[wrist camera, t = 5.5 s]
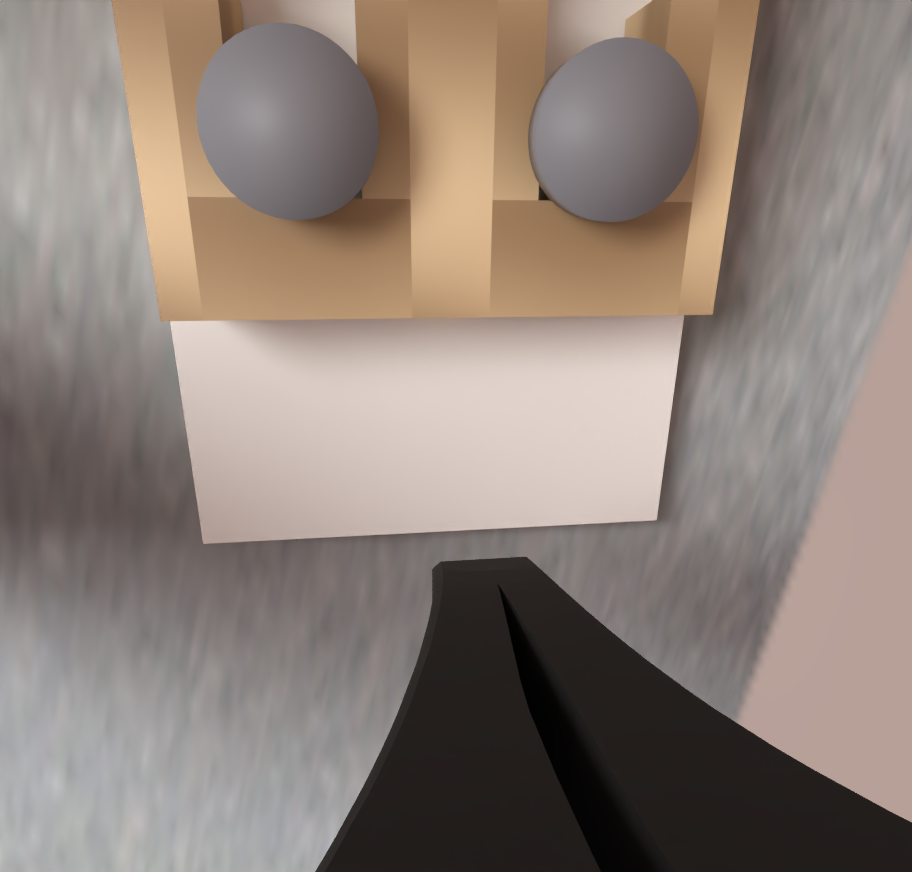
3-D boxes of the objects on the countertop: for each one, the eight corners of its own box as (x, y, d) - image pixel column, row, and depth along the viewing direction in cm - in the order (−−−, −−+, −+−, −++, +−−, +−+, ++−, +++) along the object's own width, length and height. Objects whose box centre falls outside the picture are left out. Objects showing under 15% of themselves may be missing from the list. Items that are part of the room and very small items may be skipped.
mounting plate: (643, 506, 17) (716, 588, 13) (211, 527, 15) (163, 624, 12) (757, -393, 11) (946, -683, 7) (68, -481, 9) (-114, -888, 6)
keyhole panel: (667, 299, 14) (712, 314, 12) (191, 303, 13) (160, 321, 11) (743, -318, 10) (824, -431, 8) (98, -393, 9) (28, -542, 7)
